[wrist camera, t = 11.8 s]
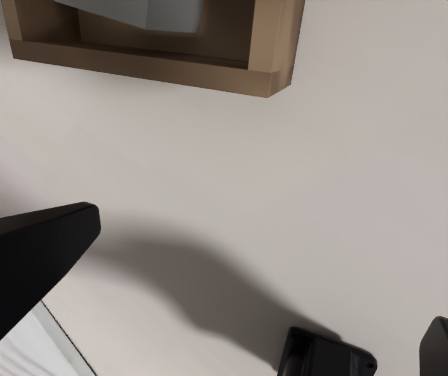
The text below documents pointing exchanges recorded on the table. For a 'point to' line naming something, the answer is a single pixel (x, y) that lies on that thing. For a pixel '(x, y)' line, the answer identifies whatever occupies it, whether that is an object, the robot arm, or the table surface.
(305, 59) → the table surface
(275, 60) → the open wooden box
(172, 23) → the dice cube
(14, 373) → the file sorter
